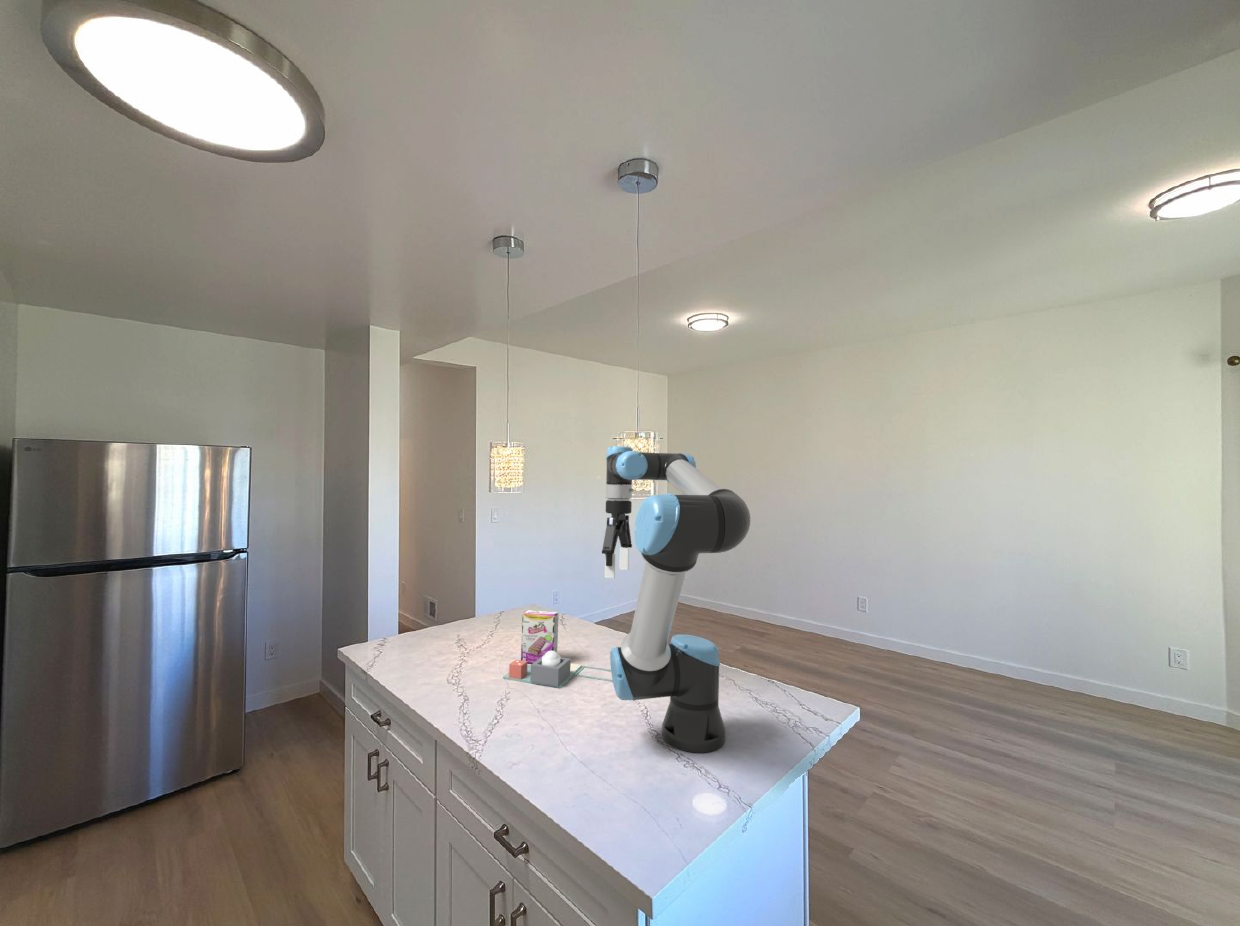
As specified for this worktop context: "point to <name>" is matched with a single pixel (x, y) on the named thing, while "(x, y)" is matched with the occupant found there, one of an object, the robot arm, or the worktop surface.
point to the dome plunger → (551, 659)
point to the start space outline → (590, 676)
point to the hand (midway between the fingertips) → (617, 573)
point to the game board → (542, 672)
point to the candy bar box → (538, 634)
